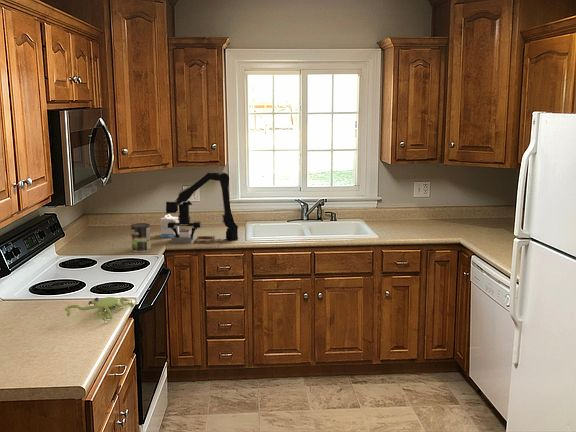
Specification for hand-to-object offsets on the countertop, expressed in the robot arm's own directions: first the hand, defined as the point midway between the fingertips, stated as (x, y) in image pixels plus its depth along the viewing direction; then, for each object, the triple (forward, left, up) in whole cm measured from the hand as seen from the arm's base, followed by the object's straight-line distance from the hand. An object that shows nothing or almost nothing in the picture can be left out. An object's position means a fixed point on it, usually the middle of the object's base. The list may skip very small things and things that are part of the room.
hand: (185, 239), depth 357 cm
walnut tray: (-12, 0, -2) cm, 12 cm away
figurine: (+15, +121, -2) cm, 122 cm away
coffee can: (+21, +19, -2) cm, 28 cm away
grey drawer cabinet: (+1, 0, -2) cm, 2 cm away
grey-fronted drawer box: (0, 0, -1) cm, 1 cm away
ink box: (+11, -14, -2) cm, 18 cm away
